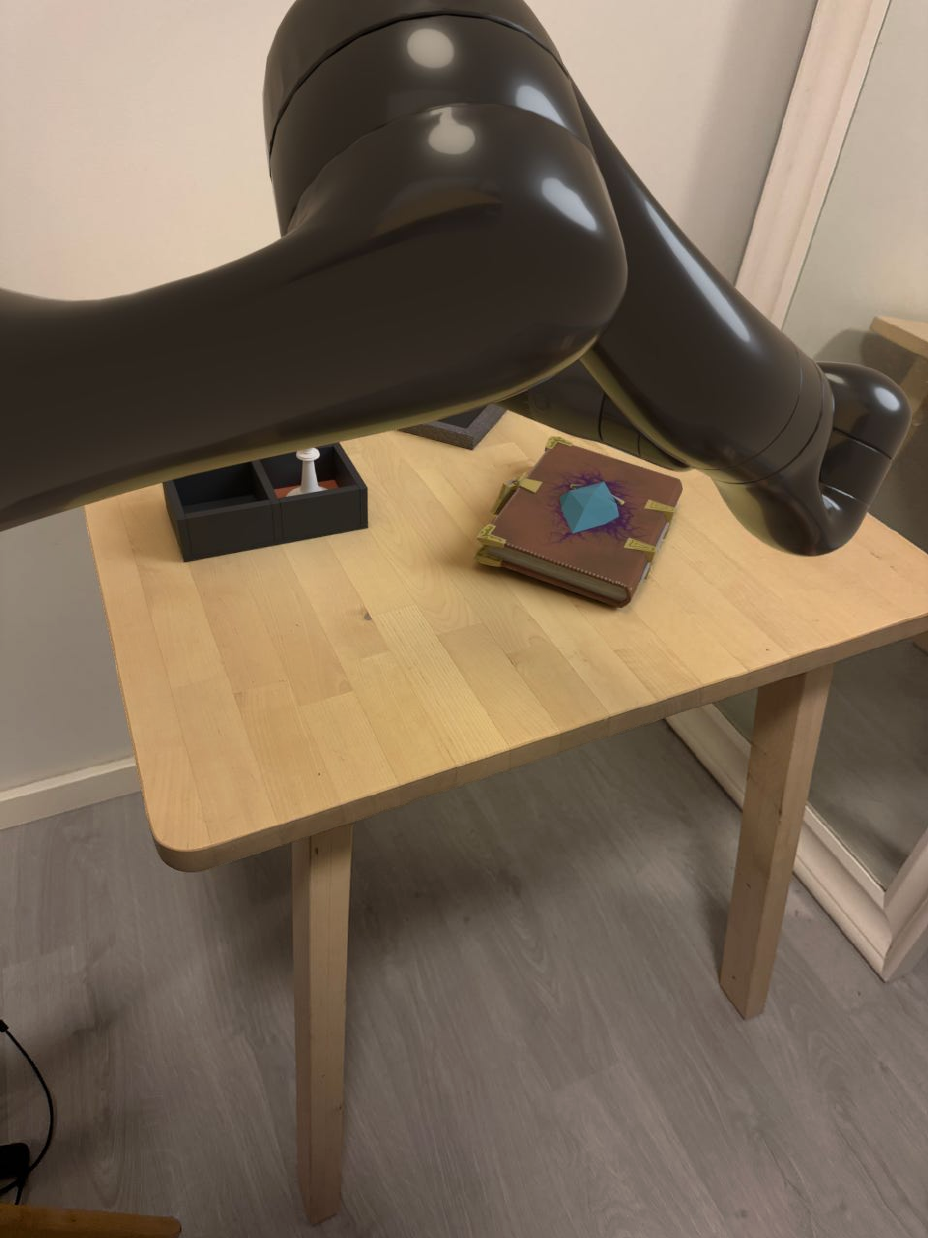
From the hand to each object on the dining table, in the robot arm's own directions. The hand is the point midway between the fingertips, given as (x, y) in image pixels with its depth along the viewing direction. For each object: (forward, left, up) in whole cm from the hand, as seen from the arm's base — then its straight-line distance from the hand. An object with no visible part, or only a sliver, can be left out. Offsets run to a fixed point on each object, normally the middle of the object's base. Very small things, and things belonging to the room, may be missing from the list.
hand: (369, 295), depth 63 cm
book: (+23, +2, -26) cm, 34 cm away
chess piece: (-2, +12, -25) cm, 28 cm away
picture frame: (+20, +29, -26) cm, 44 cm away
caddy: (-6, +12, -26) cm, 29 cm away
